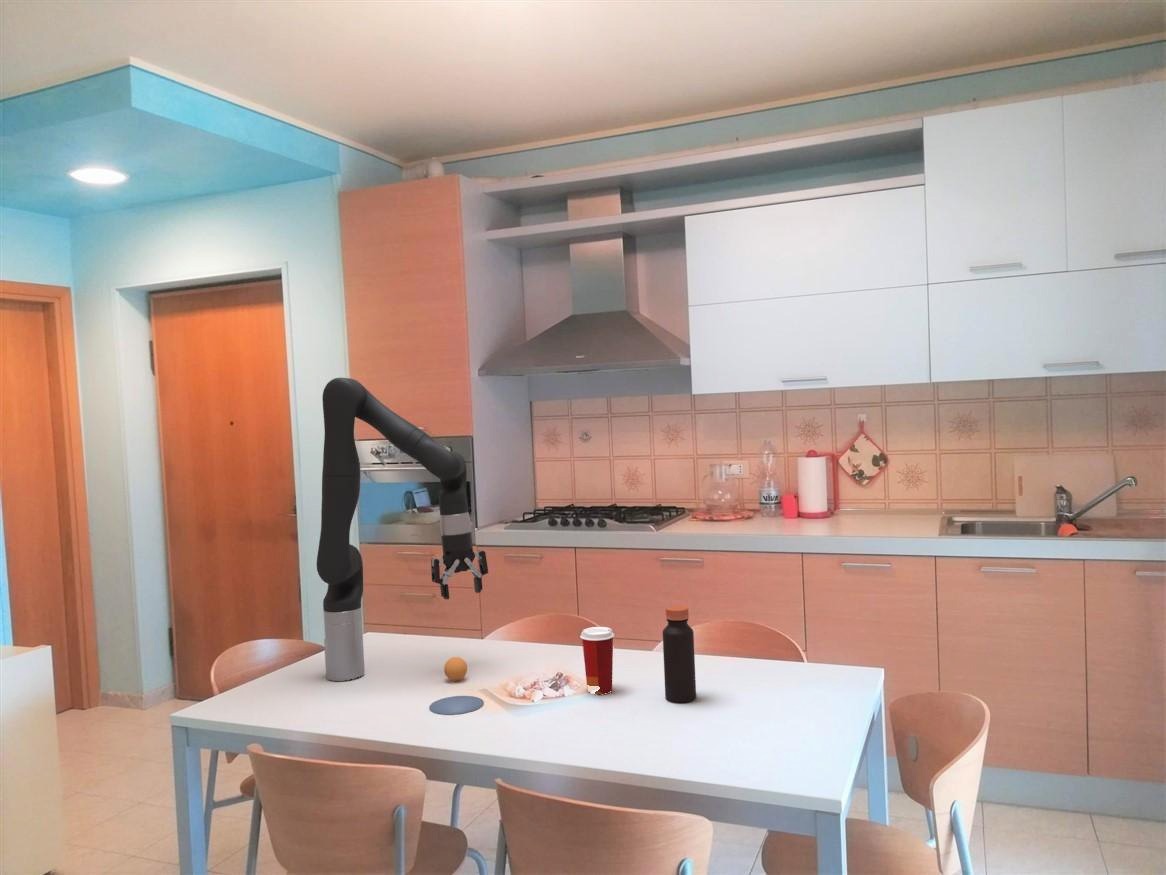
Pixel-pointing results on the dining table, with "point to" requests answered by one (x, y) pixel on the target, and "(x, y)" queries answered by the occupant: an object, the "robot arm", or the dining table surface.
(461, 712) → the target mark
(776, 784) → the dining table surface
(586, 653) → the paper cup
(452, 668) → the ball
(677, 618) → the bottle
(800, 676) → the dining table surface
